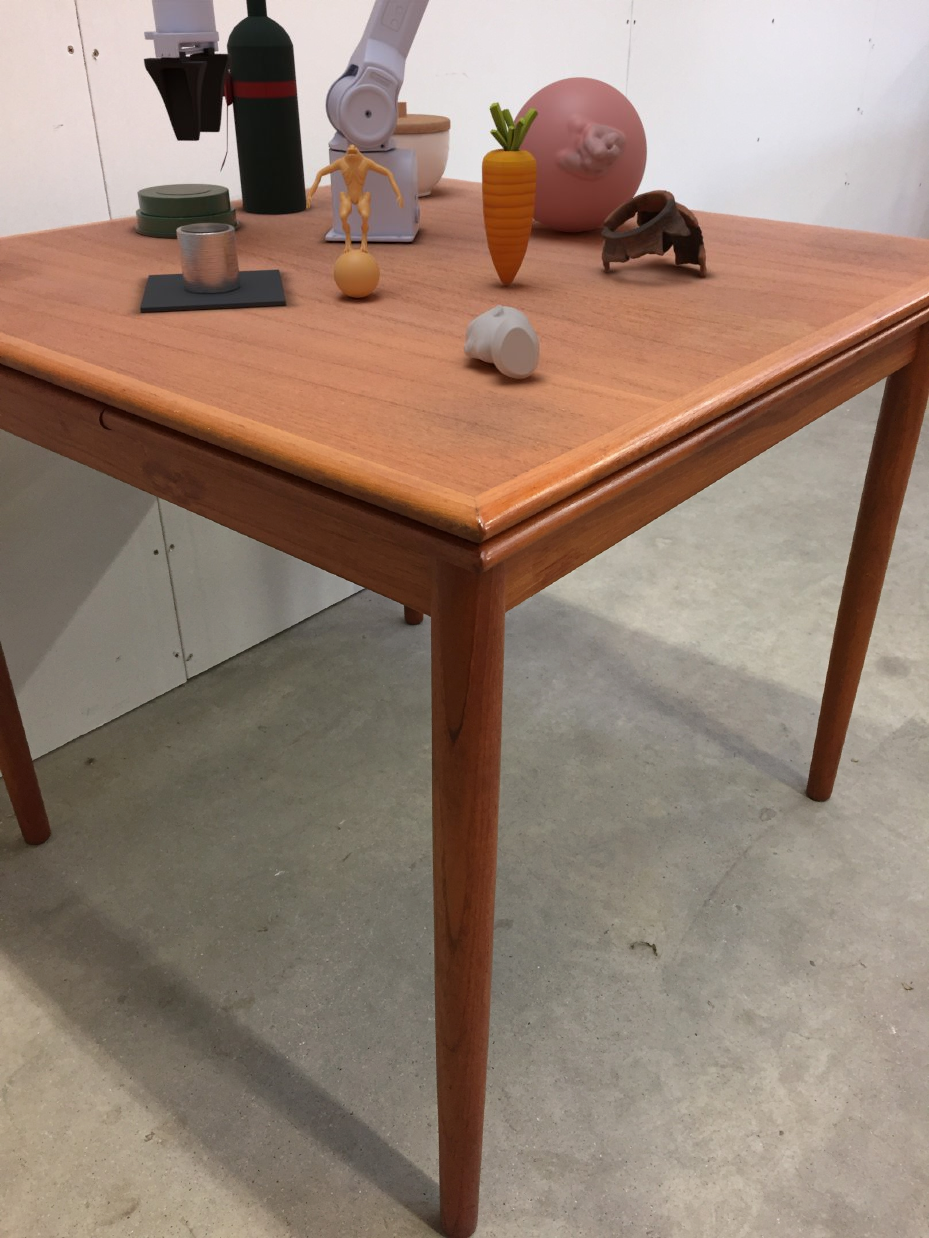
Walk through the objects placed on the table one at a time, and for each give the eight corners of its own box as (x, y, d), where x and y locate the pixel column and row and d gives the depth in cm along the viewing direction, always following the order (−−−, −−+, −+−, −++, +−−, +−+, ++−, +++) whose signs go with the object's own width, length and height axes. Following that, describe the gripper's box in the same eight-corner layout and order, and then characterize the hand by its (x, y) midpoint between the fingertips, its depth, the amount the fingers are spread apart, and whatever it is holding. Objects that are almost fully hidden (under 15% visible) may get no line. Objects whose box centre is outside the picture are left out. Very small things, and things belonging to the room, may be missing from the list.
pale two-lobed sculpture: (468, 366, 75) (533, 344, 75) (479, 400, 68) (551, 375, 68) (451, 310, 73) (517, 287, 73) (460, 339, 66) (534, 314, 66)
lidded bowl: (346, 200, 132) (341, 105, 126) (370, 185, 142) (366, 97, 136) (441, 202, 130) (440, 107, 124) (458, 187, 140) (457, 99, 135)
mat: (279, 273, 96) (278, 269, 96) (286, 305, 86) (285, 300, 86) (149, 279, 94) (148, 275, 93) (140, 312, 84) (139, 307, 83)
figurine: (307, 302, 87) (295, 150, 80) (316, 286, 92) (305, 141, 85) (404, 303, 87) (399, 150, 80) (407, 286, 92) (403, 141, 85)
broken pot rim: (719, 289, 93) (689, 211, 88) (623, 330, 96) (589, 256, 91) (706, 230, 101) (679, 155, 96) (618, 269, 105) (587, 198, 99)
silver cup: (246, 281, 91) (240, 222, 89) (232, 294, 87) (225, 233, 85) (193, 280, 92) (185, 221, 89) (177, 293, 88) (168, 232, 85)
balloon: (513, 254, 103) (517, 85, 95) (498, 219, 120) (501, 73, 112) (661, 253, 104) (678, 85, 96) (626, 218, 121) (638, 73, 113)
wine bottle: (224, 205, 128) (191, -81, 112) (304, 202, 130) (283, -80, 114) (224, 216, 122) (188, -86, 106) (308, 213, 123) (286, -85, 108)
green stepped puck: (250, 219, 120) (246, 182, 117) (225, 239, 110) (220, 199, 108) (154, 218, 120) (149, 181, 118) (120, 237, 110) (114, 198, 108)
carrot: (539, 282, 93) (547, 100, 85) (525, 294, 89) (531, 105, 81) (489, 277, 95) (491, 99, 87) (472, 290, 91) (473, 103, 83)
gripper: (162, -21, 102) (181, 128, 109) (111, -24, 89) (136, 144, 96) (231, -21, 101) (246, 128, 108) (189, -24, 89) (209, 145, 96)
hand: (199, 136), depth 102 cm, fingers open, 7 cm apart
